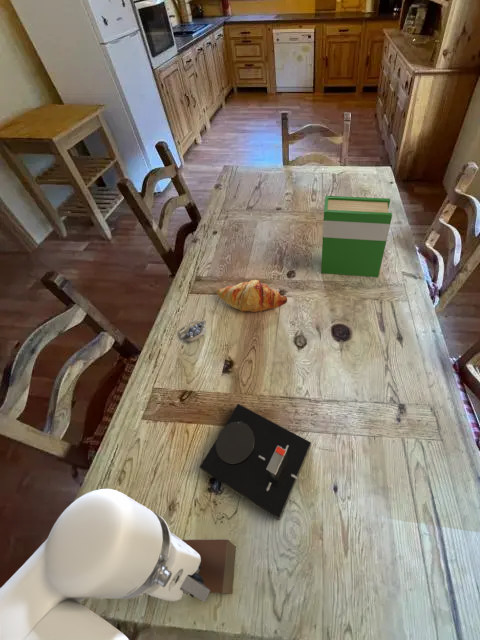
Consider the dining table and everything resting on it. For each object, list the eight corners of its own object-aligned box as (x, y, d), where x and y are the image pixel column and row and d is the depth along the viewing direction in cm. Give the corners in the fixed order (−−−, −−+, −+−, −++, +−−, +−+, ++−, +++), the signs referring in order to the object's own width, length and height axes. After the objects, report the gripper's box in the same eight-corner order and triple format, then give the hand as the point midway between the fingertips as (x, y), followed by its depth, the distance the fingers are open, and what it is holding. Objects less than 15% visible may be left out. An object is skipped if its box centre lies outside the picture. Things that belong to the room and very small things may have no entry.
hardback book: (377, 260, 110) (389, 198, 93) (378, 277, 105) (392, 215, 88) (322, 256, 112) (325, 195, 95) (320, 273, 107) (323, 211, 90)
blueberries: (174, 338, 92) (173, 334, 91) (192, 315, 97) (191, 311, 96) (195, 347, 90) (193, 343, 88) (212, 323, 95) (211, 319, 93)
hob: (281, 521, 63) (280, 519, 61) (201, 470, 69) (199, 467, 67) (312, 447, 72) (312, 442, 70) (239, 407, 78) (237, 403, 76)
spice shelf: (232, 593, 56) (222, 592, 50) (148, 594, 57) (127, 593, 50) (236, 546, 61) (227, 539, 54) (158, 547, 61) (140, 540, 54)
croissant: (217, 310, 102) (208, 306, 94) (223, 278, 105) (214, 271, 97) (286, 318, 99) (283, 314, 91) (291, 284, 102) (287, 278, 94)
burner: (241, 472, 67) (241, 471, 66) (208, 452, 69) (207, 451, 69) (261, 433, 72) (261, 432, 71) (230, 415, 74) (229, 415, 74)
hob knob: (276, 481, 65) (275, 474, 62) (267, 476, 66) (265, 468, 62) (287, 458, 68) (286, 449, 64) (278, 453, 69) (277, 444, 65)
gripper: (216, 557, 37) (238, 569, 50) (105, 475, 43) (150, 504, 56) (170, 650, 33) (207, 637, 45) (53, 544, 39) (115, 559, 51)
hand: (175, 564), depth 50 cm, fingers open, 5 cm apart
